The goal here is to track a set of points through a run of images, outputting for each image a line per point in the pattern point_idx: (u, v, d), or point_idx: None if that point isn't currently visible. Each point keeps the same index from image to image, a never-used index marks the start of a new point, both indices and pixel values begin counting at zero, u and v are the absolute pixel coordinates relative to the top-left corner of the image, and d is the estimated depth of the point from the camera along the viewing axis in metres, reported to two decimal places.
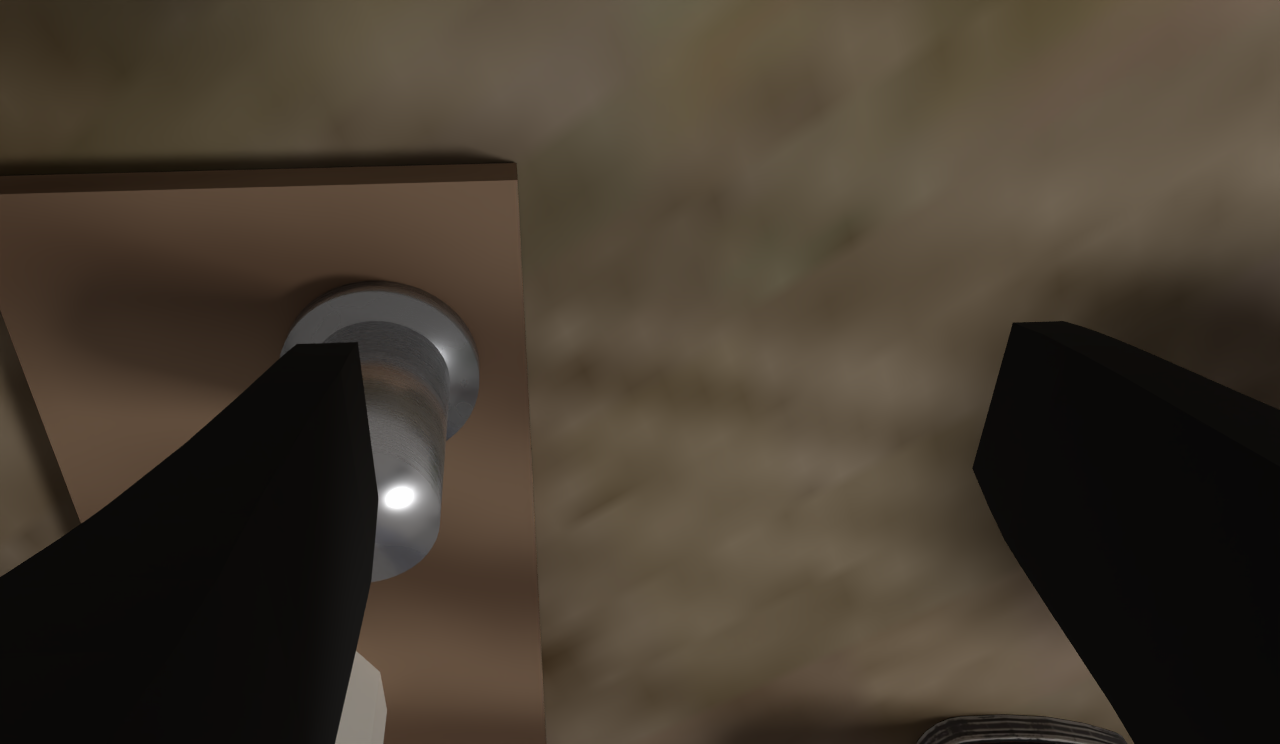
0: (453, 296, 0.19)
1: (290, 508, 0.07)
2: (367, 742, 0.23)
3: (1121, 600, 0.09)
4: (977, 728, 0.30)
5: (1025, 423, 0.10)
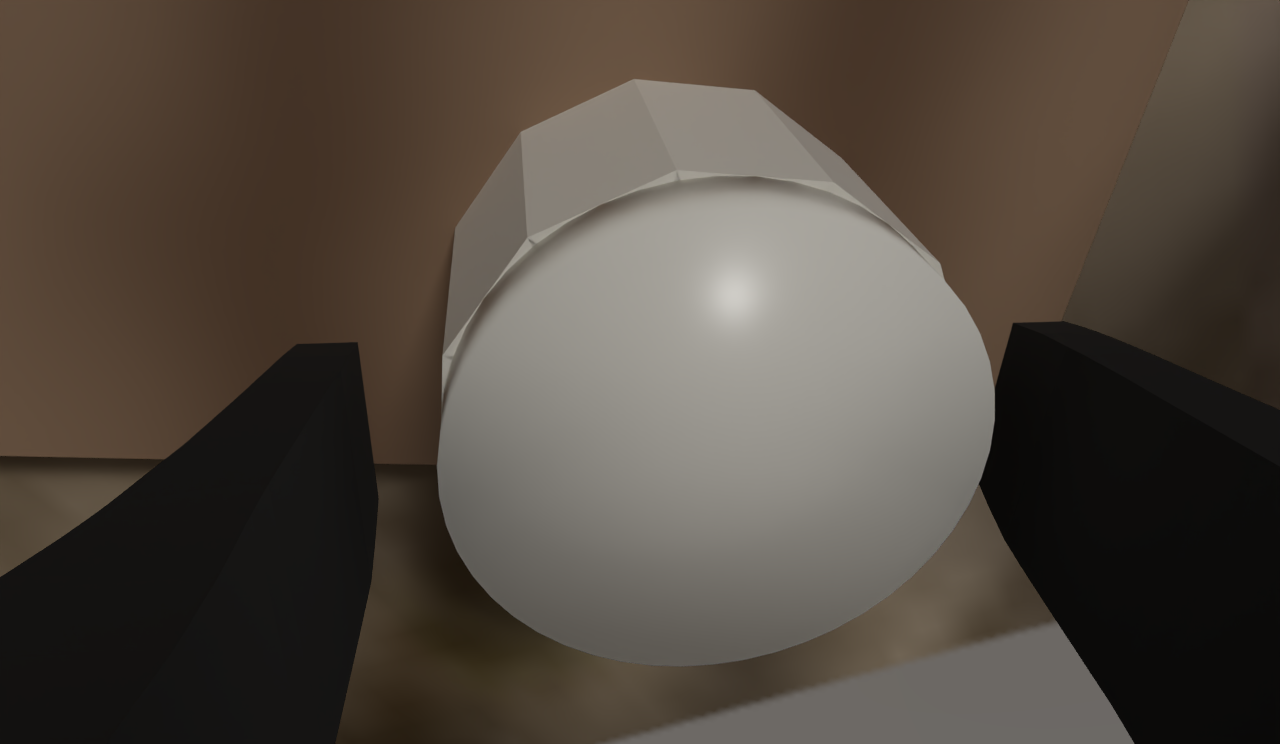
0: None
1: (289, 508, 0.07)
2: (650, 141, 0.09)
3: (1121, 600, 0.09)
4: None
5: (1025, 423, 0.10)
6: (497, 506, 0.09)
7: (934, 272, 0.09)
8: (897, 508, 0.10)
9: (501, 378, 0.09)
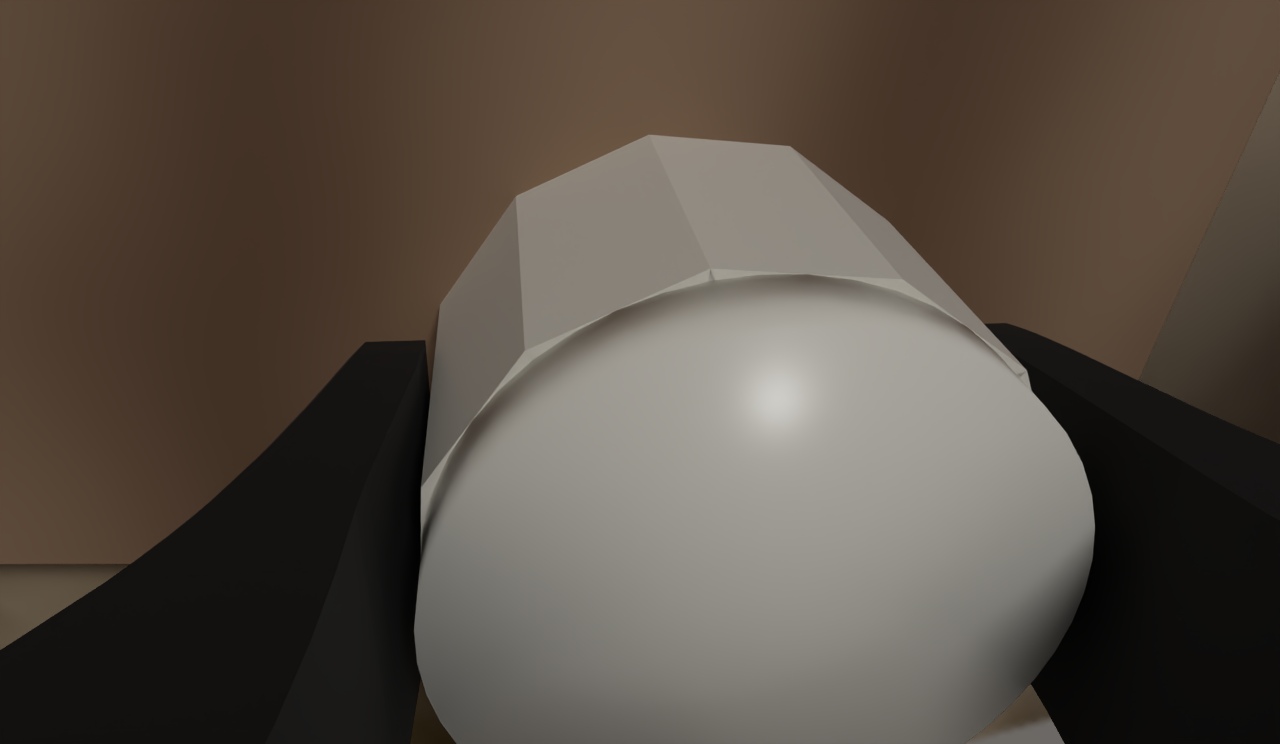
0: None
1: (381, 503, 0.07)
2: (674, 223, 0.08)
3: None
4: None
5: None
6: (488, 671, 0.08)
7: (1031, 395, 0.07)
8: (970, 658, 0.08)
9: (493, 529, 0.07)
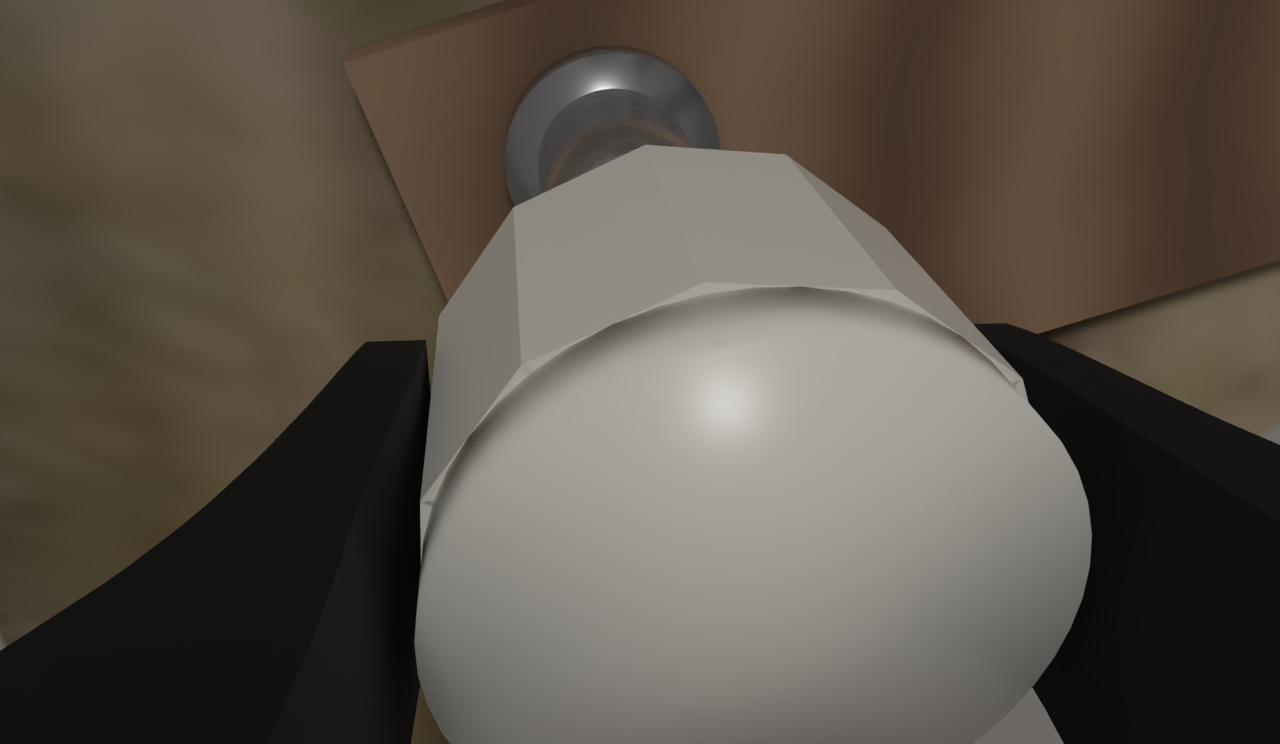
0: (503, 99, 0.17)
1: (382, 503, 0.07)
2: (669, 236, 0.08)
3: None
4: None
5: None
6: (489, 682, 0.08)
7: (1025, 404, 0.07)
8: (969, 664, 0.08)
9: (490, 542, 0.07)
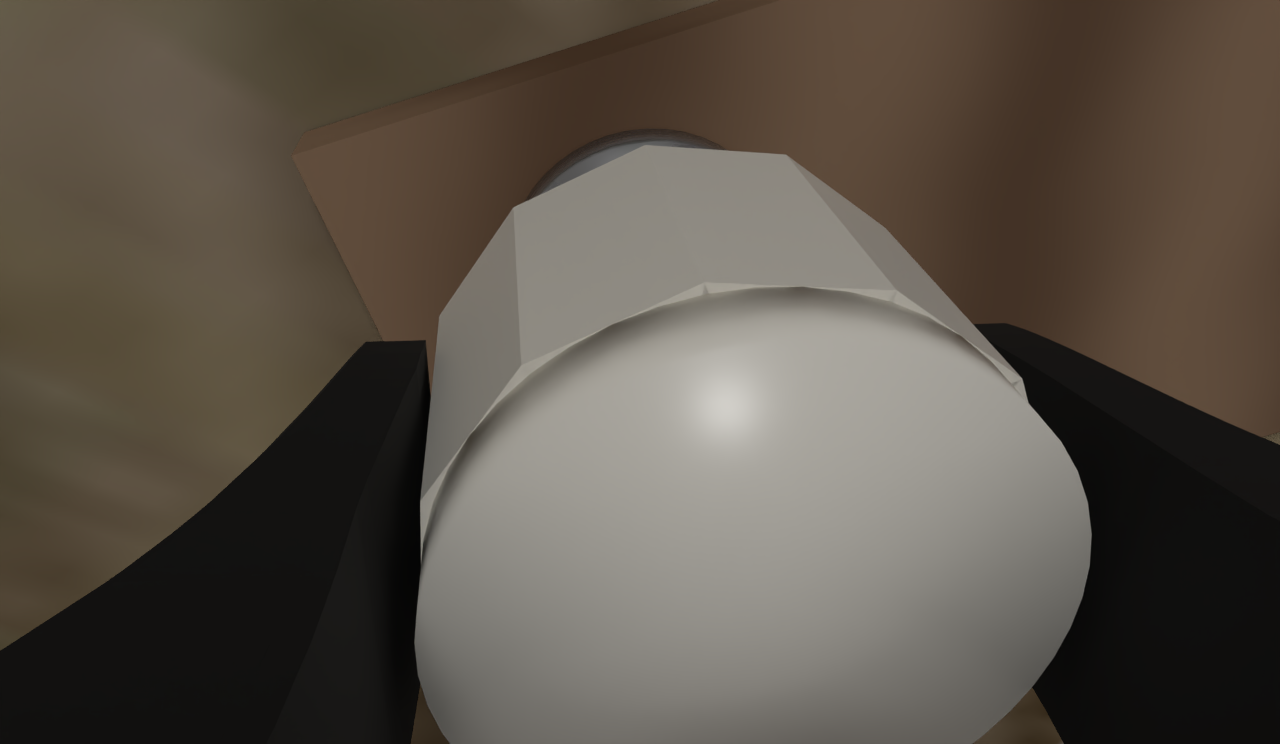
0: (506, 198, 0.13)
1: (382, 503, 0.07)
2: (668, 236, 0.08)
3: None
4: None
5: None
6: (489, 682, 0.08)
7: (1025, 404, 0.07)
8: (969, 664, 0.08)
9: (490, 542, 0.07)
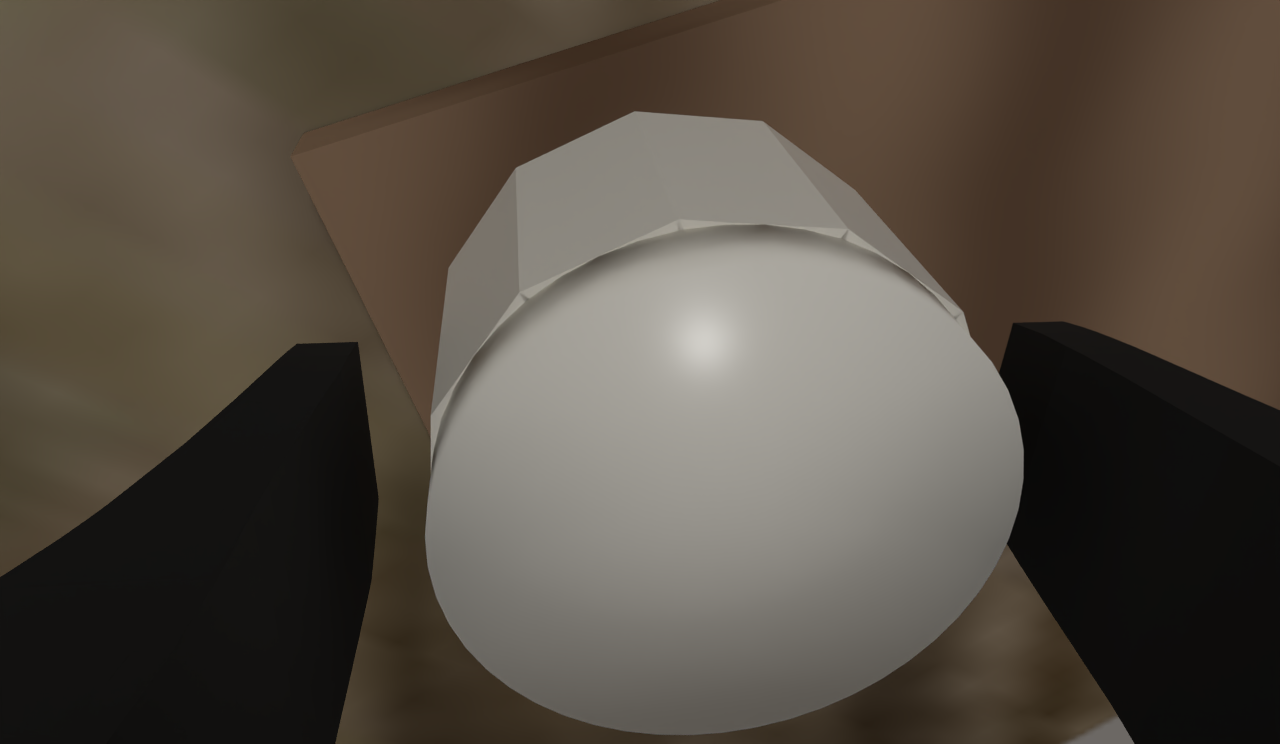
0: None
1: (290, 508, 0.07)
2: (650, 185, 0.09)
3: (1121, 600, 0.09)
4: None
5: (1025, 423, 0.10)
6: (490, 576, 0.09)
7: (958, 327, 0.08)
8: (919, 571, 0.09)
9: (491, 445, 0.08)
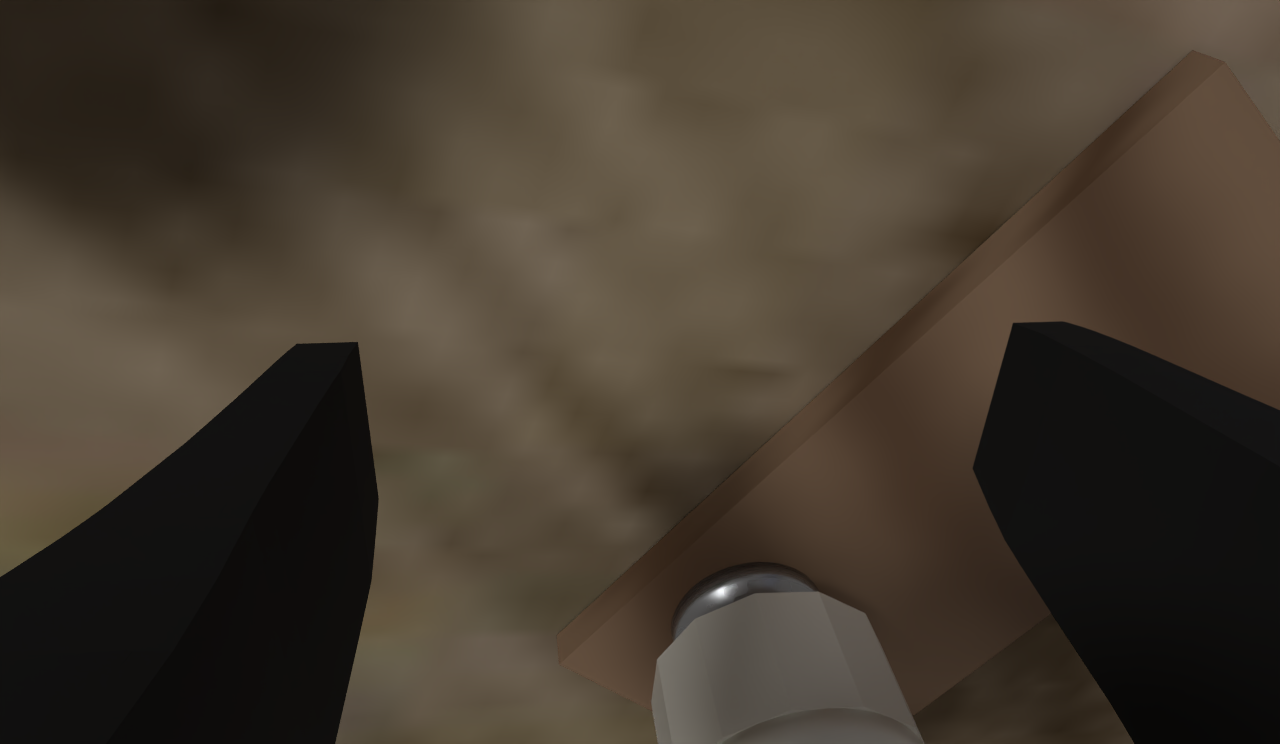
0: (662, 631, 0.24)
1: (290, 508, 0.07)
2: (710, 701, 0.20)
3: (1121, 600, 0.09)
4: None
5: (1025, 423, 0.10)
6: None
7: (850, 741, 0.18)
8: None
9: None
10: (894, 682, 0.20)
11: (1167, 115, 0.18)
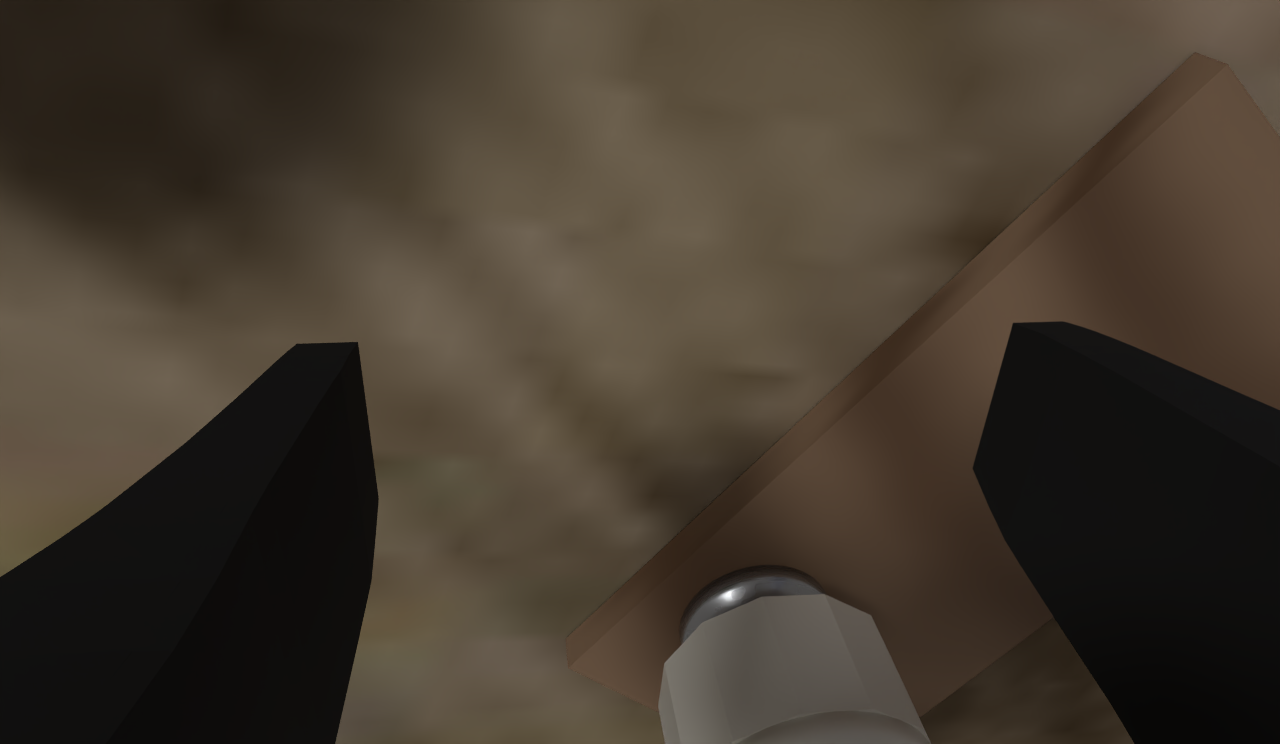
0: (670, 634, 0.24)
1: (290, 508, 0.07)
2: (719, 706, 0.20)
3: (1121, 600, 0.09)
4: None
5: (1025, 423, 0.10)
6: None
7: None
8: None
9: None
10: (901, 684, 0.20)
11: (1170, 117, 0.19)
